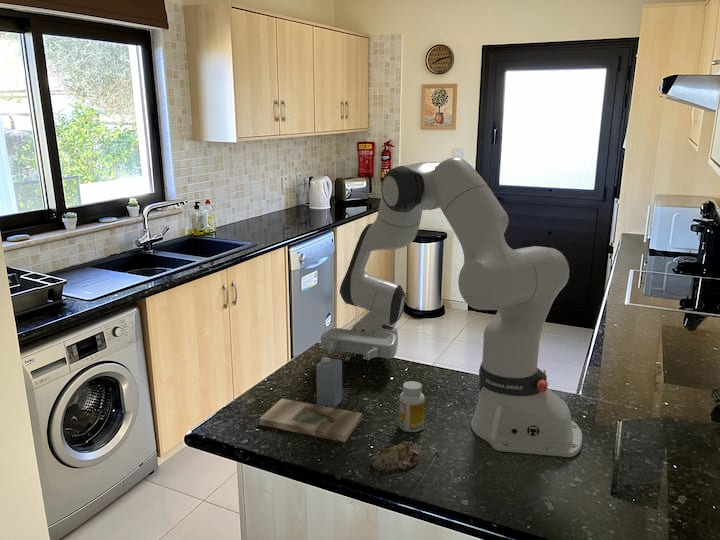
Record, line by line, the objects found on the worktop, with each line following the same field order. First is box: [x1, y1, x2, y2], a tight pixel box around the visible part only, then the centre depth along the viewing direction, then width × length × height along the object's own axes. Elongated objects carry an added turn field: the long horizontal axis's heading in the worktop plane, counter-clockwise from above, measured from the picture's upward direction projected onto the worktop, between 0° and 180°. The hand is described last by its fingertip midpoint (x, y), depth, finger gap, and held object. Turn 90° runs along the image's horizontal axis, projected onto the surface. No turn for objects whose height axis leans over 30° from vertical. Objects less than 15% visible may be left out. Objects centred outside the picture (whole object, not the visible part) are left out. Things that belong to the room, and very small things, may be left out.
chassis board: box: [258, 398, 363, 443], centre depth 127 cm, size 20×10×2 cm, turn 69°
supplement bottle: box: [398, 380, 426, 433], centre depth 124 cm, size 5×5×10 cm
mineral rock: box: [370, 440, 421, 472], centre depth 113 cm, size 11×4×8 cm
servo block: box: [315, 356, 343, 408], centre depth 135 cm, size 4×4×11 cm
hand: (348, 354), depth 146 cm, fingers open, 8 cm apart
